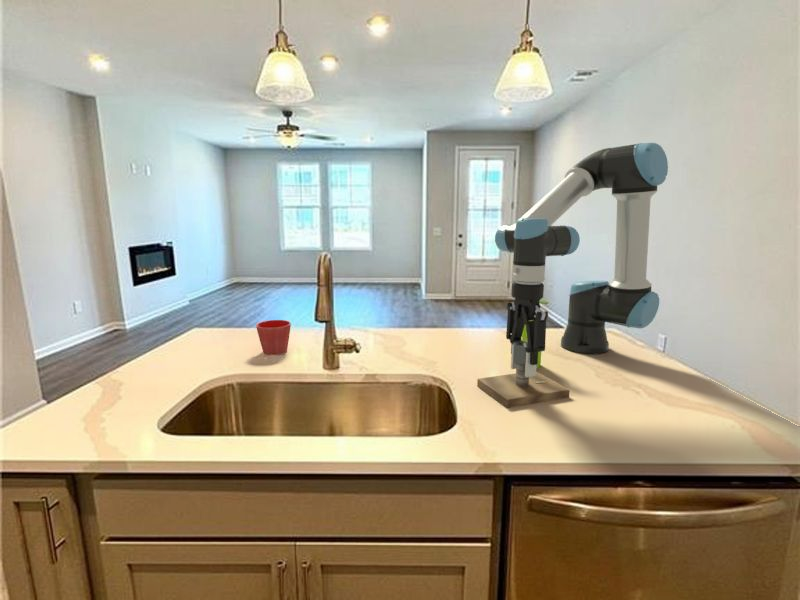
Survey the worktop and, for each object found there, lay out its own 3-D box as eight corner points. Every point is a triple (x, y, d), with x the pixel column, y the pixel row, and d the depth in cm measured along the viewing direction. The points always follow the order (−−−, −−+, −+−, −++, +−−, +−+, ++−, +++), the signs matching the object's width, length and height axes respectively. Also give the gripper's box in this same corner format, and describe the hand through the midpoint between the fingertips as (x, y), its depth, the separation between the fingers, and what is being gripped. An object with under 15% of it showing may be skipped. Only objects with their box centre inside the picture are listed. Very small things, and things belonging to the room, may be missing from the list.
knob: (512, 356, 111) (513, 338, 110) (533, 357, 110) (534, 340, 109) (513, 363, 105) (514, 345, 104) (535, 365, 104) (536, 346, 103)
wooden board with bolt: (534, 377, 118) (535, 350, 117) (569, 397, 105) (571, 366, 104) (477, 385, 112) (478, 357, 111) (507, 407, 100) (508, 375, 98)
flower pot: (284, 357, 136) (282, 328, 134) (252, 355, 138) (250, 326, 136) (297, 347, 146) (295, 320, 144) (267, 346, 148) (265, 319, 146)
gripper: (494, 277, 111) (491, 362, 115) (539, 288, 94) (533, 387, 98) (518, 276, 113) (514, 359, 118) (566, 286, 96) (559, 383, 101)
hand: (522, 371), depth 108 cm, fingers open, 5 cm apart
